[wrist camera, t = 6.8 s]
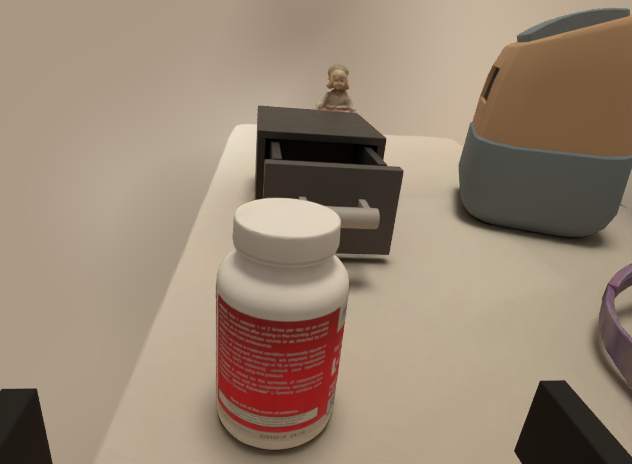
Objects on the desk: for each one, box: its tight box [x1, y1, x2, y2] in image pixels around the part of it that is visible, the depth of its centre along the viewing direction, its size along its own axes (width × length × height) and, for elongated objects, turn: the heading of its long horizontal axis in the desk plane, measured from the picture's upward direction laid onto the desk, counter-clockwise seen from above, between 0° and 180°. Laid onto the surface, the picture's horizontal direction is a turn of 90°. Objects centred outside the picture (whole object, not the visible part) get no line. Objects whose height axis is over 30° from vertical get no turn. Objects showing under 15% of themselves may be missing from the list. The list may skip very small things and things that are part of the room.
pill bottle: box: [216, 198, 349, 450], centre depth 22 cm, size 6×6×11 cm
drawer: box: [263, 139, 404, 255], centre depth 42 cm, size 18×11×8 cm, turn 7°
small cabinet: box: [255, 106, 386, 200], centre depth 52 cm, size 15×13×10 cm
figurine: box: [313, 64, 356, 113], centre depth 72 cm, size 11×10×15 cm
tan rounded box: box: [459, 8, 632, 238], centre depth 52 cm, size 17×17×23 cm
